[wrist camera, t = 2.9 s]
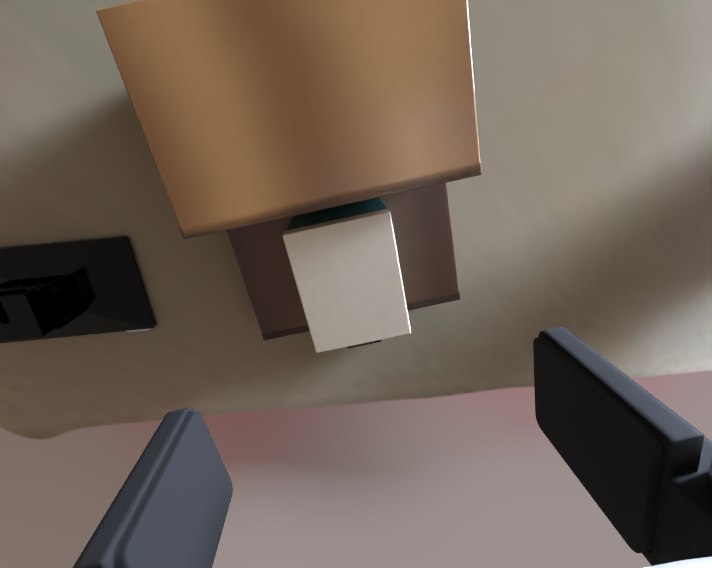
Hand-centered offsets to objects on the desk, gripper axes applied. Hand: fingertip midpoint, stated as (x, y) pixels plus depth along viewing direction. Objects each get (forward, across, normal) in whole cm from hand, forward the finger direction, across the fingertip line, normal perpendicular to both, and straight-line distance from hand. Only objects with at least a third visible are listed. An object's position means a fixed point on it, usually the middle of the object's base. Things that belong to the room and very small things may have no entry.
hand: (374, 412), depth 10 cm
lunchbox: (+15, 0, 0) cm, 15 cm away
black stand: (+18, +21, -1) cm, 28 cm away
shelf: (+17, 0, -4) cm, 18 cm away
